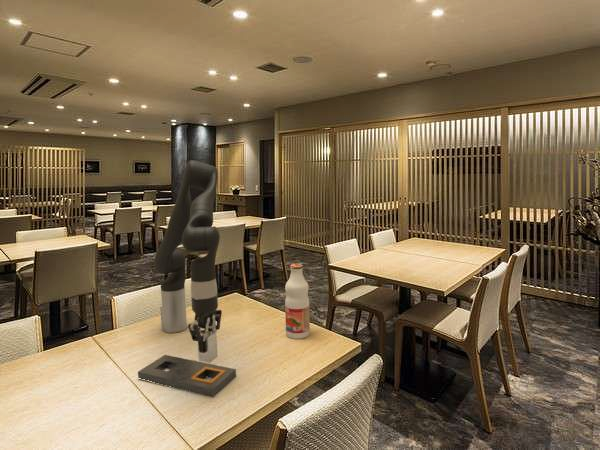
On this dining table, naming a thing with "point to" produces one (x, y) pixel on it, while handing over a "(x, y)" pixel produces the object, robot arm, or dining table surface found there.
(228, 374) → the grey board with holes
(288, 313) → the fruit juice
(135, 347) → the dining table surface
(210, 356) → the grey square peg
